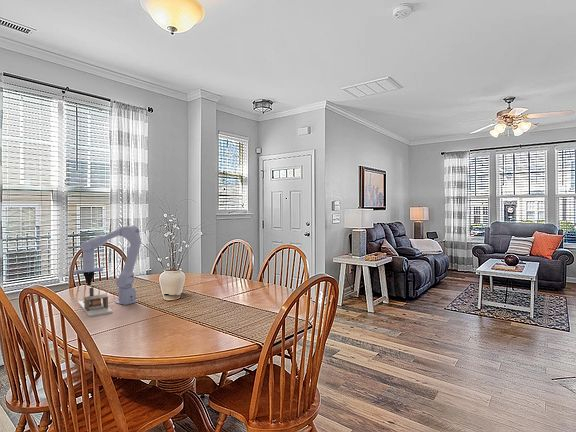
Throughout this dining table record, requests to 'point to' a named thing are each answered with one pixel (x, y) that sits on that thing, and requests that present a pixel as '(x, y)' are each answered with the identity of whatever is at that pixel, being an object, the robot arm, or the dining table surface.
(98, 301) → the block
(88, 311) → the tunnel deck
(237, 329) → the dining table surface
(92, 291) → the sled
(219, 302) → the dining table surface
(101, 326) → the dining table surface
